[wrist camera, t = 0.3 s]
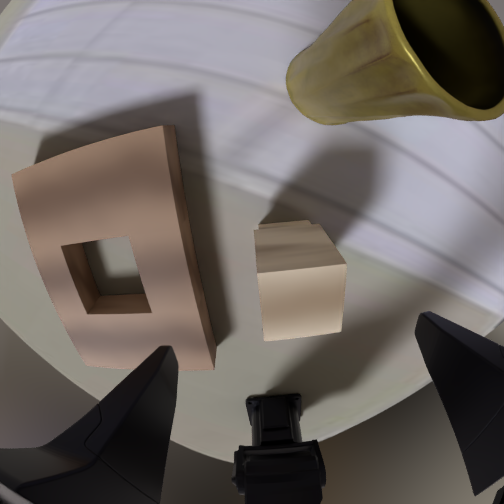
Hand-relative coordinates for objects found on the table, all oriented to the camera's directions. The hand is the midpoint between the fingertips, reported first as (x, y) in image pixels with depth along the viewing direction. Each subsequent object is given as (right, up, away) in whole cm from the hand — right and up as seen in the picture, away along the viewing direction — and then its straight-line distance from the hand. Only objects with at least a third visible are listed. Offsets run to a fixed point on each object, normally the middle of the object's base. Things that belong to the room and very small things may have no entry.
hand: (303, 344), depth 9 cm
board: (-13, +2, +13) cm, 19 cm away
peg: (+1, +4, +13) cm, 13 cm away
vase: (+4, +15, +8) cm, 17 cm away
